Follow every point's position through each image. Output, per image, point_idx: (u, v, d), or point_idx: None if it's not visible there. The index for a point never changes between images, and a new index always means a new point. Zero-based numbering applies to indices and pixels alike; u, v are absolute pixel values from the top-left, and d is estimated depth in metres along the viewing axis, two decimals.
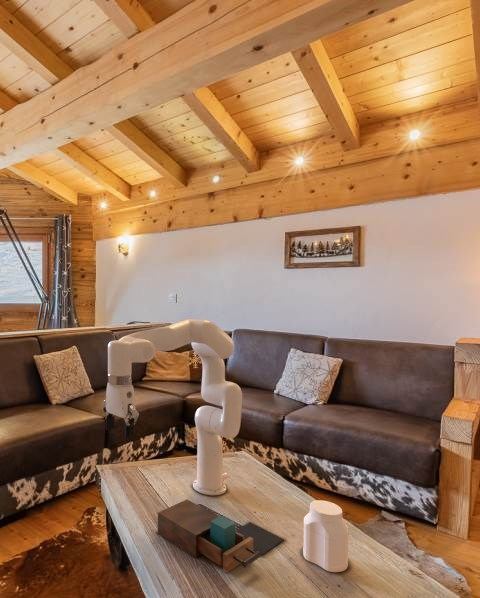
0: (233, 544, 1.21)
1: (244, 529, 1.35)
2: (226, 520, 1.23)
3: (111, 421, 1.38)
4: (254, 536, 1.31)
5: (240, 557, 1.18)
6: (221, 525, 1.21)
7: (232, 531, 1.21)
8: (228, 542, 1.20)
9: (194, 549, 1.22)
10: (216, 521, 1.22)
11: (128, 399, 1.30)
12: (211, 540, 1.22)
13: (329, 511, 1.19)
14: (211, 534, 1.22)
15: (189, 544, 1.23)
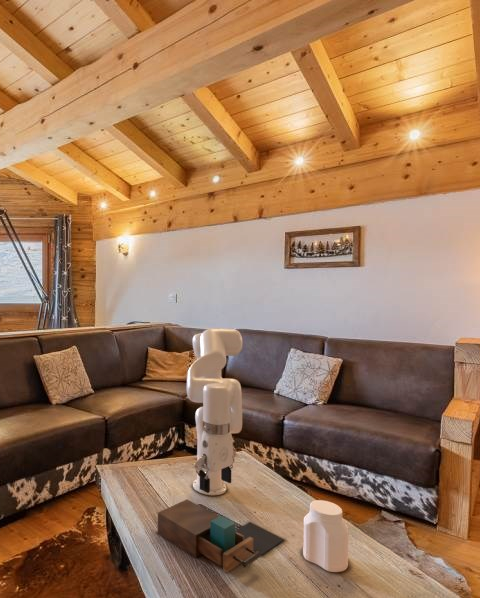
0: (233, 544, 1.21)
1: (244, 529, 1.35)
2: (226, 520, 1.23)
3: (225, 473, 1.25)
4: (254, 536, 1.31)
5: (240, 557, 1.18)
6: (221, 525, 1.21)
7: (232, 531, 1.21)
8: (228, 542, 1.20)
9: (194, 549, 1.22)
10: (216, 521, 1.22)
11: (203, 448, 1.20)
12: (211, 540, 1.22)
13: (329, 511, 1.19)
14: (211, 534, 1.22)
15: (189, 544, 1.23)
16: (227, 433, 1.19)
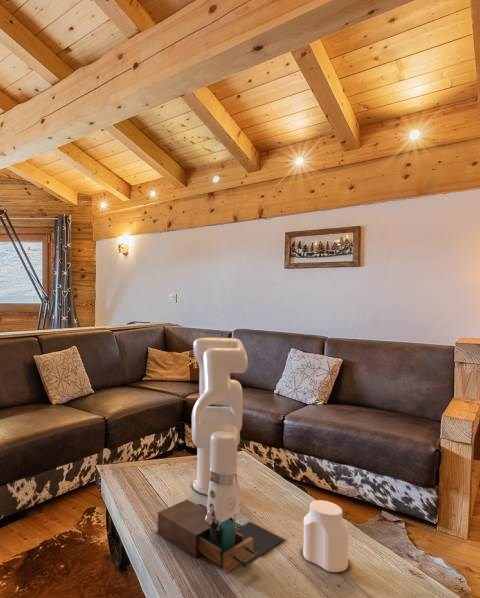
0: (233, 544, 1.21)
1: (244, 529, 1.35)
2: (226, 520, 1.23)
3: None
4: (254, 536, 1.31)
5: (240, 557, 1.18)
6: (221, 525, 1.21)
7: (232, 531, 1.21)
8: (228, 542, 1.20)
9: (194, 549, 1.22)
10: (216, 521, 1.22)
11: (210, 498, 1.19)
12: (211, 540, 1.22)
13: (329, 511, 1.19)
14: None
15: (189, 544, 1.23)
16: (234, 483, 1.19)
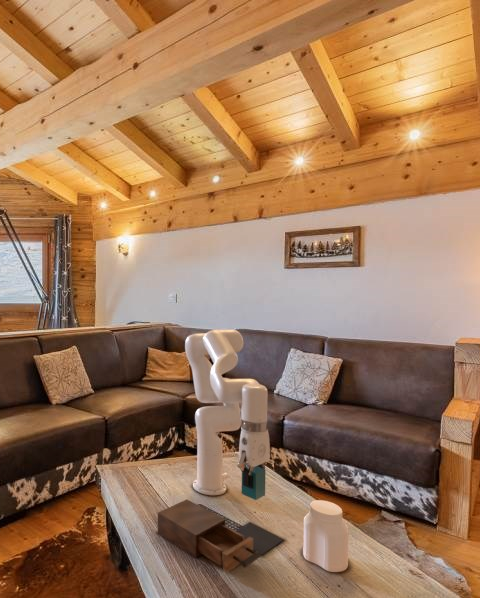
0: (263, 489, 1.29)
1: (244, 529, 1.35)
2: (256, 467, 1.30)
3: None
4: (254, 536, 1.31)
5: (240, 557, 1.18)
6: (252, 471, 1.28)
7: (263, 477, 1.28)
8: (259, 486, 1.27)
9: (194, 549, 1.22)
10: (247, 468, 1.30)
11: (242, 445, 1.27)
12: (242, 486, 1.30)
13: (329, 511, 1.19)
14: (242, 480, 1.30)
15: (189, 544, 1.23)
16: (265, 431, 1.26)
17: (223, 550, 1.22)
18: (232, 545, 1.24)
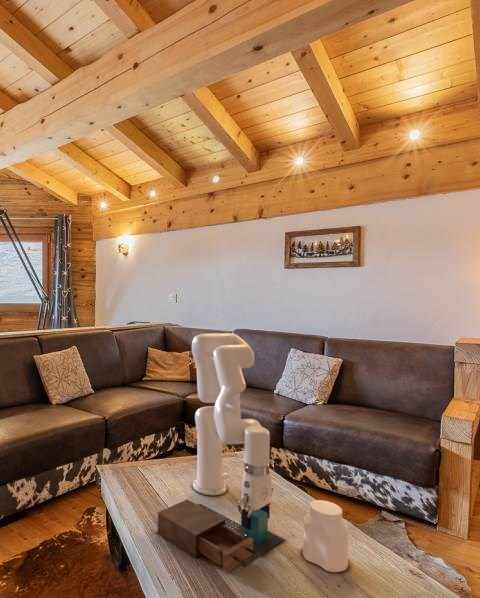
0: (266, 533, 1.30)
1: None
2: (259, 511, 1.31)
3: (264, 509, 1.33)
4: None
5: (240, 557, 1.18)
6: (255, 514, 1.29)
7: (265, 520, 1.30)
8: (262, 530, 1.28)
9: (194, 549, 1.22)
10: None
11: (245, 488, 1.28)
12: (245, 529, 1.31)
13: (329, 511, 1.19)
14: None
15: (189, 544, 1.23)
16: (267, 474, 1.28)
17: (223, 550, 1.22)
18: (232, 545, 1.24)
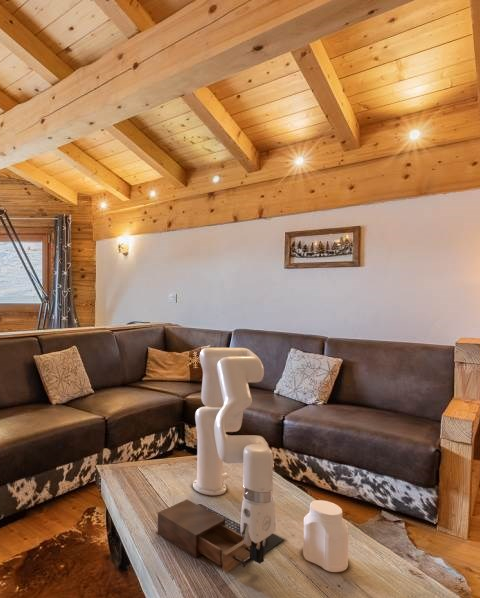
0: None
1: None
2: None
3: None
4: None
5: (239, 557, 1.18)
6: None
7: None
8: None
9: (194, 549, 1.22)
10: None
11: (244, 517, 1.11)
12: None
13: (329, 511, 1.19)
14: None
15: (189, 544, 1.23)
16: (270, 500, 1.10)
17: (222, 550, 1.22)
18: (231, 545, 1.24)
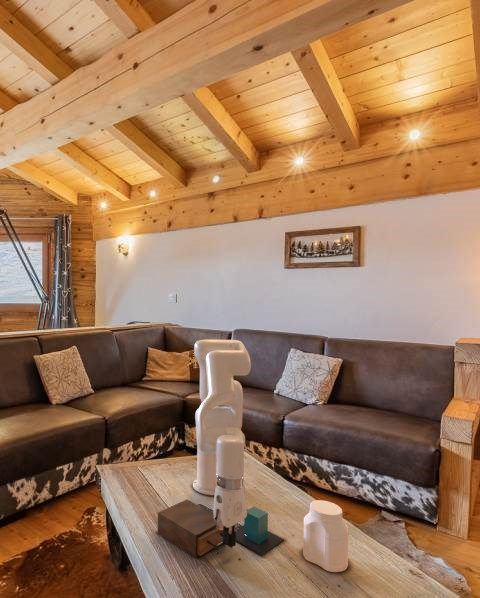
0: (266, 533, 1.30)
1: None
2: (259, 511, 1.31)
3: None
4: None
5: (214, 542, 1.25)
6: (255, 514, 1.29)
7: (265, 520, 1.30)
8: (262, 530, 1.28)
9: (194, 549, 1.22)
10: (250, 511, 1.31)
11: (217, 503, 1.18)
12: (245, 529, 1.31)
13: (329, 511, 1.19)
14: (245, 523, 1.31)
15: (189, 544, 1.23)
16: (241, 487, 1.17)
17: None
18: (208, 531, 1.31)
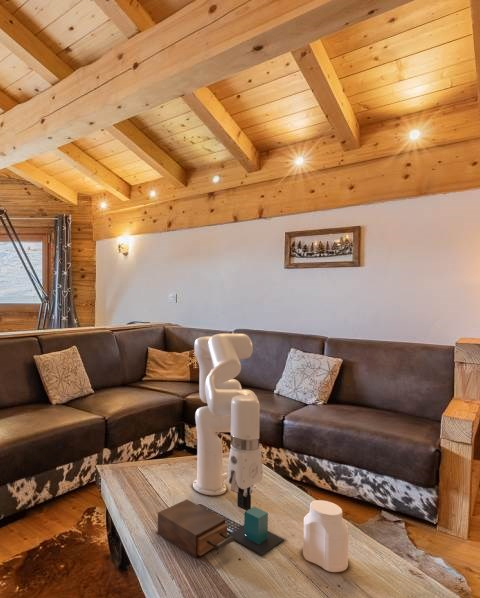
0: (266, 533, 1.30)
1: None
2: (259, 511, 1.31)
3: None
4: None
5: (214, 542, 1.25)
6: (255, 514, 1.29)
7: (265, 520, 1.30)
8: (262, 530, 1.28)
9: (194, 549, 1.22)
10: (250, 511, 1.31)
11: (232, 464, 1.13)
12: (245, 529, 1.31)
13: (329, 511, 1.19)
14: (245, 523, 1.31)
15: (189, 544, 1.23)
16: (257, 448, 1.13)
17: None
18: (208, 531, 1.31)
